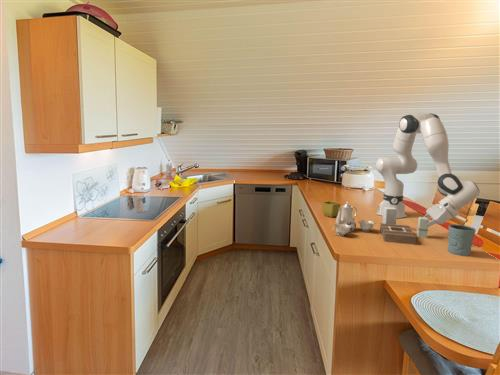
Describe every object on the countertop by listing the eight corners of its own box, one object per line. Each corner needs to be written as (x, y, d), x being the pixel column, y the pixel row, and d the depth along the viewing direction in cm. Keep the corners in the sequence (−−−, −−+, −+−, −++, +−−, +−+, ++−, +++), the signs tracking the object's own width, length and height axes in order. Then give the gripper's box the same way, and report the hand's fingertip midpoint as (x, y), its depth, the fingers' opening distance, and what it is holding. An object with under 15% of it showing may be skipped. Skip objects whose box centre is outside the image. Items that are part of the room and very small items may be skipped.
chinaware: (343, 242, 159) (347, 211, 155) (319, 230, 172) (323, 202, 168) (377, 234, 174) (382, 205, 170) (353, 223, 187) (357, 197, 183)
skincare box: (391, 227, 181) (393, 207, 179) (395, 229, 177) (397, 209, 175) (381, 227, 181) (383, 207, 179) (384, 229, 177) (386, 208, 175)
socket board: (380, 230, 176) (380, 222, 175) (407, 232, 172) (408, 225, 171) (384, 241, 157) (385, 233, 156) (415, 244, 153) (416, 236, 152)
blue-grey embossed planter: (448, 254, 141) (451, 228, 139) (443, 247, 150) (446, 223, 148) (475, 258, 137) (478, 231, 135) (468, 250, 146) (471, 225, 144)
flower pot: (332, 218, 198) (332, 204, 197) (320, 215, 205) (321, 202, 203) (339, 216, 204) (340, 203, 202) (328, 213, 210) (329, 200, 209)
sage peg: (416, 235, 168) (418, 217, 166) (425, 235, 167) (427, 217, 165) (418, 237, 164) (420, 218, 162) (427, 238, 163) (429, 219, 161)
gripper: (437, 198, 170) (415, 214, 174) (449, 206, 150) (424, 223, 155) (445, 206, 169) (423, 222, 174) (459, 216, 150) (433, 233, 154)
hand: (424, 223), depth 164 cm, fingers open, 8 cm apart
